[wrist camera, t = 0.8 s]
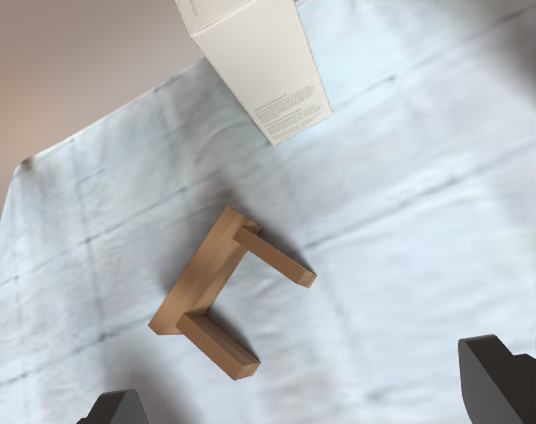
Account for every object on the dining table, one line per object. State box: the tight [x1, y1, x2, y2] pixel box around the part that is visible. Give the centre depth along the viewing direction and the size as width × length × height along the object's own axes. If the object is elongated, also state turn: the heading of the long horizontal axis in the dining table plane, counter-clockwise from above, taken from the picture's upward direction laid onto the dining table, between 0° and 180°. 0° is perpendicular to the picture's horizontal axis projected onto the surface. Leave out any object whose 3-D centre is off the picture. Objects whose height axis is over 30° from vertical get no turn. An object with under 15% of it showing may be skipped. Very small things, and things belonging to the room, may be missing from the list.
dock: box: [148, 205, 317, 380], centre depth 31 cm, size 11×8×5 cm
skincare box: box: [175, 0, 333, 146], centre depth 30 cm, size 8×7×16 cm
